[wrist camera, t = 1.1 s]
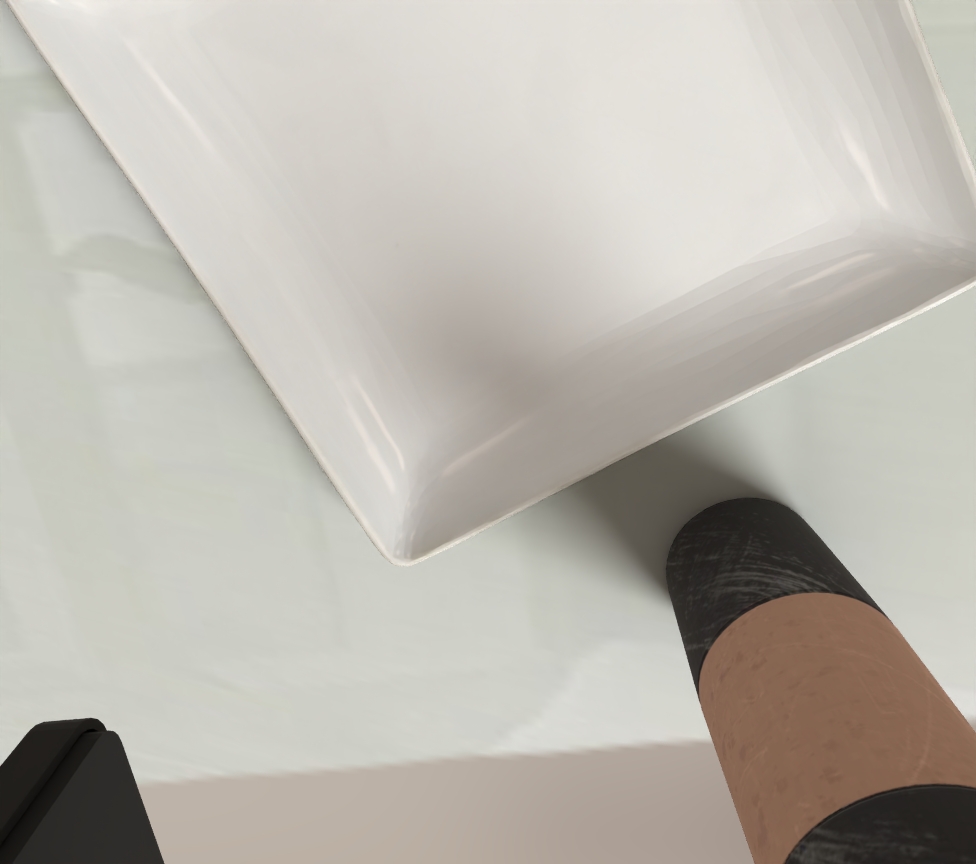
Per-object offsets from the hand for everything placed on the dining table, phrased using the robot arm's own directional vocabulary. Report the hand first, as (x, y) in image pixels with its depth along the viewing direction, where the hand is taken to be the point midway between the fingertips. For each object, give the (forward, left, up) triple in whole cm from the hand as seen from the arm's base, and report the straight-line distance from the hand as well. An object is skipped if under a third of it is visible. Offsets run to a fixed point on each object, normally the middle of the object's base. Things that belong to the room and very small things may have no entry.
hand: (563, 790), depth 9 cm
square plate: (-4, -6, -28) cm, 29 cm away
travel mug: (-1, +16, -27) cm, 32 cm away
